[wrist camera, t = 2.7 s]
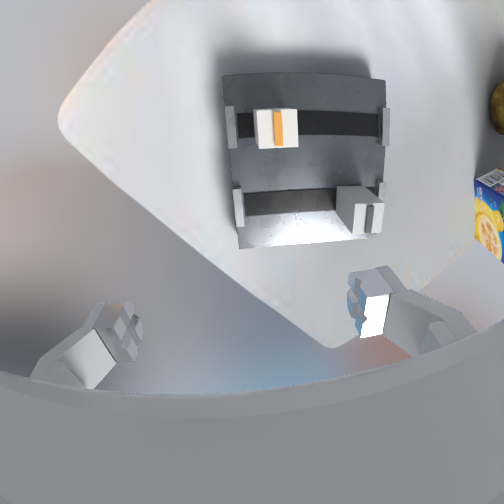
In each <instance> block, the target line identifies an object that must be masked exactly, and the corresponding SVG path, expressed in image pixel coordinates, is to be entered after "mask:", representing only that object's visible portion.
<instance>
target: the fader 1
mask: <svg viewBox="0 0 504 504" xmlns="http://www.w3.org/2000/svg"><path fill="white" fill-rule="evenodd" d="M253 117H254V130H255V141H256V143H257V145H258V148H259V149H267V148H287V147H298V122H297V109H291V108H268V109H253Z"/></svg>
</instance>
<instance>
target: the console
mask: <svg viewBox="0 0 504 504" xmlns="http://www.w3.org/2000/svg"><path fill="white" fill-rule="evenodd" d="M222 79H223V91H224V102H225V118H226V128H227V139H228V149H229V155H230V166H231V176H232V186H233V199H234V209H235V218H236V227H237V233H238V243H239V249H244V248H256V247H268V246H280V245H291V244H303V243H315V242H328V241H340V240H352V239H364V238H376V233H369V234H356V235H352V234H351V232H350V231H349V230H348V228H347V227H346V226H345V225H344V223H343V222H342V221H341V219H340V218H339V217H338V215H337V214H336V196H337V186H364V187H366V188H367V189H368V190H369V191H371V192H372V193H373V194H374V195H376V196H377V197H378V198H379V199H381V200H382V201H383V202H384V199H385V190H386V182H384V181H383V172H384V158H385V146H389V127H390V108H386V85H385V80H379V79H373V78H365V77H357V76H348V75H337V74H322V73H255V74H240V75H228V76H222ZM268 108H291V109H297V122H298V147H287V148H267V149H259V148H258V145H257V143H256V141H255V130H254V117H253V109H268Z"/></svg>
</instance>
